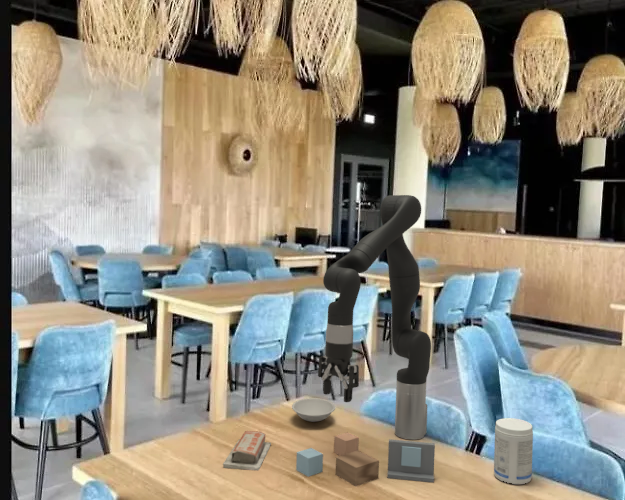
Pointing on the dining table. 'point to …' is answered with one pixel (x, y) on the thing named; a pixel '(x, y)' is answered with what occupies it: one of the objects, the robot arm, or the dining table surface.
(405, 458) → the display stand
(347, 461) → the walnut block
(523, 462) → the supplement tub
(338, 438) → the terracotta block
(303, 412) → the dish
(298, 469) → the blue block
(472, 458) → the dining table surface
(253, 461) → the packaged product
